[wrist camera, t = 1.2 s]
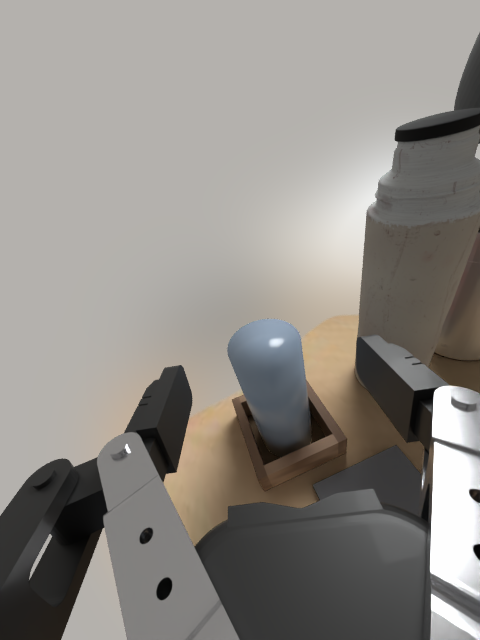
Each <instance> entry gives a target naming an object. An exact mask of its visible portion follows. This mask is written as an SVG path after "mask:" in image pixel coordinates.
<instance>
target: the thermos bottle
mask: <svg viewBox="0 0 480 640" xmlns="http://www.w3.org/2000/svg"><path fill="white" fill-rule="evenodd" d="M479 129H480V108H470V109H462V110H456V111H450V112H445V113H440V114H436V115H433V116H428V117H425V118H422V119H418V120H415V121H412V122H409V123H406V124H404V125H402V126H400V127H398V128H397V129H396V132H395V141H397V142H398V145H397V148H396V150H395V151H394V158H393V166H392V169H391V170H390V171H389V172H388V173H386V174H385V175H384V176H382V177H381V178H380V180H379V183H378V190H377V192H376V194H375V197H376V198H377V201H376V202H374V203H373V204H371V205H370V206H369V208H368V210H367V216H366V228H365V243H364V256H363V268H362V269H363V270H362V282H361V295H360V309H359V327H358V335H357V338H358V337H362V336H368V335H374V334H377V335H379V336H380V337H381V338H382V339H383V340H385V341H386V342H387V343H388V344H390V343H393V344H395V345H397V346H400V347H402V348H404V349H406V350H407V351H408V352H409V353H411V354H412V355H413V356H414V358H417V359H418V360H419V361H420V362H421V363H422V364H424V365H425V366H427V367H429V364H430V361H431V359H432V356H433V354H434V351H435V348H436V345H437V343H438V340H439V337H440V333H441V329H442V326H443V323H444V321H445V318H446V316H447V313H448V311H449V309H450V306H451V304H452V302H453V299H454V296H455V293H456V291H457V288H458V285H459V283H460V280H461V277H462V274H463V272H464V269H465V266H466V263H467V261H468V258H469V255H470V252H471V250H472V247H473V244H474V242H475V239H476V236H477V233H478V231H479V228H480V160H479V159H477V158H475V153H476V149H477V146H478V143H479V139H480V134H479ZM355 374H356V377H357V379H358V381H359V382H360V383H361V385H362V386H363V387H364V388H366V387H365V386H364V384H363V383H362V381H361V380H360V378H359V376H358V374H357V370H356V360H355ZM366 389H367V388H366Z"/></svg>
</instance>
